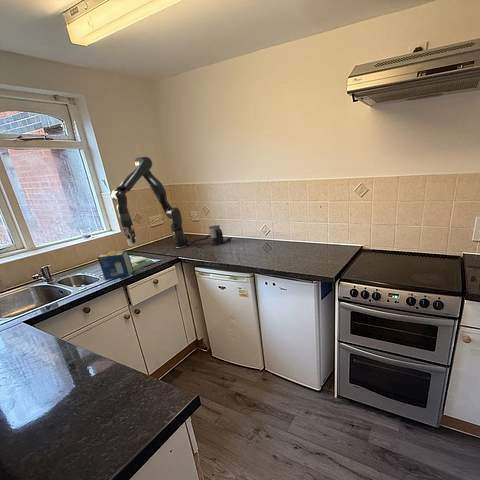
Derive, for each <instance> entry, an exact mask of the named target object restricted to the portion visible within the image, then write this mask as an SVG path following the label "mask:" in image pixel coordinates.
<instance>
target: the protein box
mask: <svg viewBox="0 0 480 480" xmlns="http://www.w3.org/2000/svg"><path fill="white" fill-rule="evenodd" d="M97 260H98V263H99V266H100V269H101V271H102V275H103V279H104V280H112V279H119V278H127V277H129V276H131V275H132V274H133V272H135V271H134V270H135V269H133V267H132V264H131V258H130V254H129V251H128V249H123V250H114V251H106V252H103V253H102V254H100V255H99V256H97Z"/></svg>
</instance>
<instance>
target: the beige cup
mask: <svg viewBox="0 0 480 480" xmlns="http://www.w3.org/2000/svg"><path fill="white" fill-rule="evenodd" d="M134 238H135V241H136V242H135V243H132V240H131V238H129V239H128V238H126V241H127V244H128V246H129V247H135V246H138V244H139V243H138V239H137V237H134Z"/></svg>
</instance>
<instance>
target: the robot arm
mask: <svg viewBox="0 0 480 480" xmlns="http://www.w3.org/2000/svg"><path fill="white" fill-rule="evenodd" d="M134 165H135V169H134V170H133V171H132V172H130V173H129V174H128V175H127V176H126V177H125V178H124V179H123V180H122V182H121V183H120V184H119V185H118V186H117V187H116V188H115V189H113V190H112V192H111V195H110V196H111V199H112V200H113V201H114V202H117V205H116V211H117V214H118V219H119V223H120V226H121V228H122V230H123V233H124V236H125V237H126V239H129V238H131V240H132V243H135V242H136V241H135V238H137V237H136V232H135V229H134V228H132V226H133V225H134V223H133V220H132V216H131V214H130V210H129V208H128V197H127V193H130V191H131V190H132V189H133V188H134V187H135V185H136V184H137V182H139V180H140V179H141V178H144V180H145V181H146V182H147V185H148V186H149V189H150V190H151V191H152V194H153V195H154V196H155V198H156V199H157V201H158V203H159V204H160V206H161V208H162V210H163V212H164V214H165V216H166V217H167V218H168V219H170V220H171V221H172V222H171V223H170V225H169V226H170V231H171V234H172V237H173V238H172V239H173V243H174V247H175V249H183V248H186V247H188V246H189V242H190V243H191V244H193V243H195V242H197V241H201V240H205V239H207V238H208V237H209V236H211V235H210V233H209V234H207V235H206V237H204V238H199V239H196V240H193V241H191V240H188V239H187V236H186V234H185V231H184V226H183V216H182V212H181V209H180V208H179V207H177V206H174V207H173V206H172V205H171V204H170V202H169V200H168V192H167V190H166V188H165V186H164V185H163V183H162V182H161V181H160V180H159V179H158V178H157V177H156V176H155V175H154V174H153V173H152V172H151V169H152V167H153V161H152V159H151V158H150V157H149V156H139V157H136V158H135V159H134ZM134 237H135V238H134Z"/></svg>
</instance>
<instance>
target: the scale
mask: <svg viewBox="0 0 480 480" xmlns="http://www.w3.org/2000/svg"><path fill="white" fill-rule="evenodd" d="M130 260H131V264H132V267H133V270H135V269H138V268H142V267H144V266H147V265H151V264H153V259H150V258H147V257H144V256H138V257H134V258H130Z"/></svg>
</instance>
